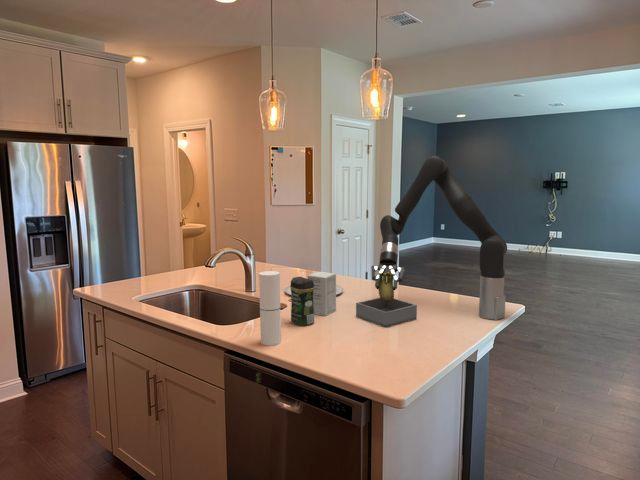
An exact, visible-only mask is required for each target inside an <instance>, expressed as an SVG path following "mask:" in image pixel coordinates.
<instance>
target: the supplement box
mask: <svg viewBox="0 0 640 480" xmlns="http://www.w3.org/2000/svg"><path fill="white" fill-rule="evenodd" d="M307 279H310V280H312V281H313V282H314V291H313V306H314V315H318V316H322V317H328V315H330V314H332V313H334V312H336V311H337V295H336V285H337V274H336V273H335V272H334V273H333V272H328V271H327V272H325V271H316V272H314V273H311V274H307Z"/></svg>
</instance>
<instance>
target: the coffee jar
mask: <svg viewBox="0 0 640 480" xmlns="http://www.w3.org/2000/svg"><path fill="white" fill-rule="evenodd" d="M289 286H290V287H291V295H290V296H291V303H290V304H291V305H290V308H291V309H290V321H291V322H292V323H293V324H295V325H297V326H311V325H312V324H314V323H315V314H314V306H313V291H314V282H313V281H312V280H310V279H308V278H306V277H303V276H295V277H292V279H291V280H290V285H289Z"/></svg>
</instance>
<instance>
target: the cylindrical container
mask: <svg viewBox="0 0 640 480" xmlns="http://www.w3.org/2000/svg"><path fill="white" fill-rule="evenodd" d="M258 282H259V283H258V284H259V287H258V288H259V290H258V291H259V321H260V325H259V327H260V328H259V330H260V344H261V345H263V346H266V347H267V346H269V347H270V346H271V347H272V346H277V345H280V344H281V342H282V331H281V330H282V329H281V328H282V325H281V323H282V321H281V320H282V319H281V274H280V271H275V270H266V271H261V272H259V273H258Z"/></svg>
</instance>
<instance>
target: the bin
mask: <svg viewBox="0 0 640 480" xmlns="http://www.w3.org/2000/svg"><path fill="white" fill-rule="evenodd" d="M417 309H418V305H417V304H415V303H412V302H407V301H404V300H400V299H397V298H393V300H392V301H390V302H385V301H382V300H381V299H380V297H376V298H372V299H368V300H363V301H359V302H358V301H357V302H356V303H355V317H356V318H358V319H361V320H364V321H366V322H369V323H372V324H374V325H378V326H380V327H382V328H385V329H387V328H390V327H393V326H397V325H401V324H404V323H407V322H408V323H409V322H412V321H415V320H417V317H418V315H417V314H418V310H417Z"/></svg>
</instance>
